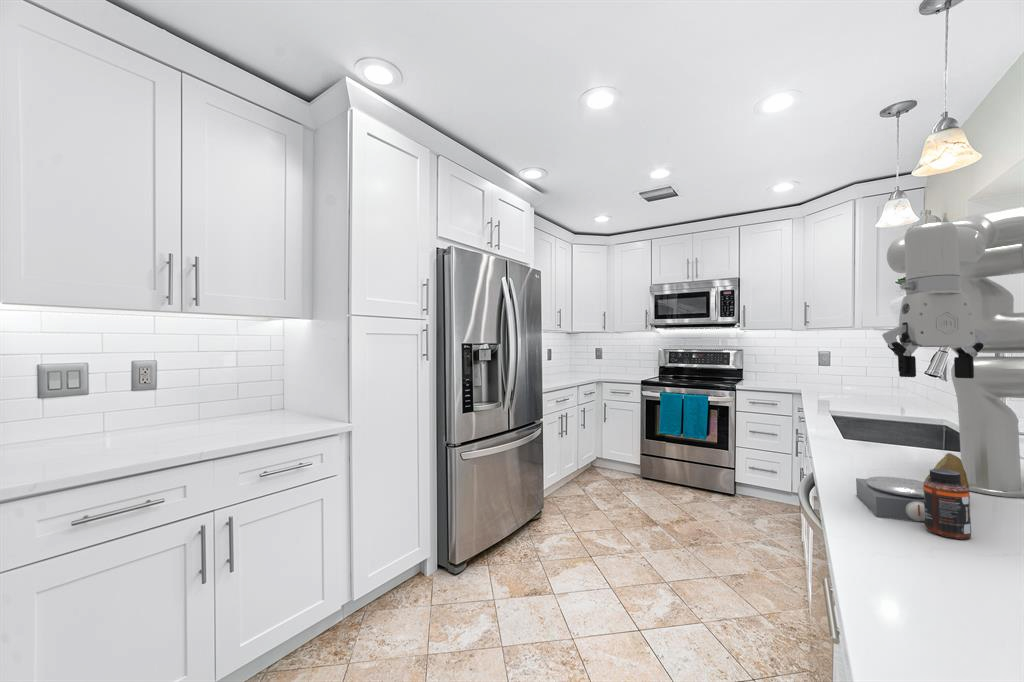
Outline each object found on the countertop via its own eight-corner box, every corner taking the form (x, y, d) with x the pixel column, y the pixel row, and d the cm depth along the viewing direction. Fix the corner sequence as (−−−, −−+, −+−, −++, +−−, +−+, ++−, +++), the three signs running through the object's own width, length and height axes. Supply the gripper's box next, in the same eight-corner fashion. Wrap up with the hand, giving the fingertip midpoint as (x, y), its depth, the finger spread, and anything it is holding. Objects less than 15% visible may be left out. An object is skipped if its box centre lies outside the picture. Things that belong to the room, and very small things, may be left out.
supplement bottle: (981, 541, 75) (978, 476, 75) (941, 539, 76) (938, 475, 77) (953, 528, 81) (951, 467, 81) (917, 526, 82) (914, 466, 82)
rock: (988, 501, 88) (987, 483, 95) (950, 464, 92) (952, 450, 98) (931, 520, 95) (934, 502, 102) (898, 485, 99) (903, 470, 105)
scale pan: (859, 477, 99) (859, 474, 99) (928, 483, 93) (928, 480, 93) (877, 493, 88) (876, 489, 88) (956, 501, 83) (956, 497, 83)
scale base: (856, 495, 100) (856, 478, 100) (930, 503, 94) (929, 484, 94) (877, 517, 87) (876, 497, 87) (964, 527, 81) (963, 506, 81)
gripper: (898, 285, 80) (900, 377, 79) (1003, 284, 78) (1007, 379, 77) (869, 292, 87) (872, 376, 86) (964, 291, 85) (968, 378, 84)
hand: (935, 377), depth 82 cm, fingers open, 9 cm apart
